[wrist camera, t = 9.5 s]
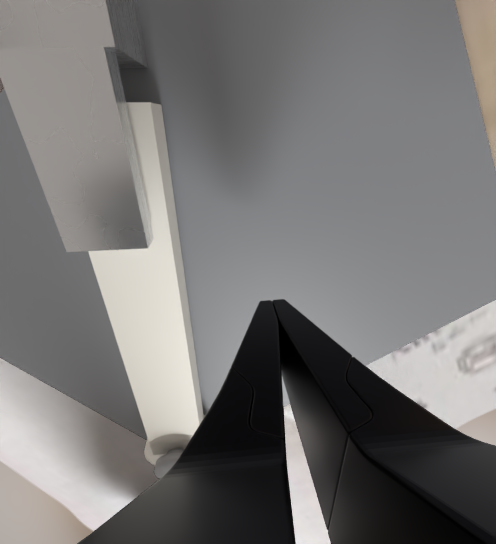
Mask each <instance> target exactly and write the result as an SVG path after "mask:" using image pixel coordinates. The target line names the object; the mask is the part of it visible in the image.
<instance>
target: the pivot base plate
mask: <svg viewBox="0 0 496 544" xmlns="http://www.w3.org/2000/svg"><path fill="white" fill-rule="evenodd" d="M137 2H138V8H139V14H140V20H141V27H142V33H143V39H144V45H145V51H146V58H147V64H148V68H132V69H119V70H120V75H121V80H122V85H123V90H124V94H125V99H126V102H151V103H155V104H160V105H161V106H162V113H163V121H164V128H165V135H166V143H167V150H168V157H169V165H170V172H171V179H172V187H173V194H174V202H175V209H176V216H177V224H178V231H179V238H180V246H181V253H182V260H183V268H184V275H185V282H186V290H187V297H188V305H189V312H190V319H191V327H192V334H193V341H194V349H195V356H196V363H197V371H198V378H199V386H200V393H201V400H202V408H203V415H206V414H207V412H208V410H209V409H210V407H211V405H212V403H213V402H214V400H215V398H216V397H217V395H218V393H219V391H220V389H221V387H222V385H223V383H224V381H225V379H226V376H227V374H228V372H229V370H230V368H231V365H232V363H233V361H234V358H235V356H236V354H237V352H238V349H239V347H240V345H241V342H242V340H243V338H244V336H245V333H246V331H247V329H248V326H249V324H250V322H251V320H252V317H253V315H254V313H255V310H256V308H257V306H258V304H259V302H260V301H265V300H271V301H273V300H277V299H285V300H286V301H287V302H289V303H290V304H291V305H292V306H293V307H295V308H296V309H297V310H298V311H299V312H301V313H302V314H303V315H304V316H305V317H307V318H308V319H309V320H310V321H312V322H313V323H314V324H315V325H316V326H318V327H319V328H320V329H321V330H322V331H324V332H325V333H326V334H327V335H328V336H330V337H331V338H332V339H333V340H334V341H336V342H337V343H338V344H339V345H340V346H342V347H343V348H344V349H345V350H346V351H348V352H349V353H350V354H351V355H352V357H355V358H356V359H357V360H359V361H360V362H361V363H362V364H364V365H365V366H366V365H368V364H370V363H372V362H373V361H375V360H377V359H379V358H381V357H383V356H385V355H387V354H389V353H391V352H393V351H395V350H397V349H399V348H401V347H403V346H405V345H407V344H409V343H411V342H413V341H415V340H417V339H419V338H421V337H423V336H425V335H427V334H429V333H431V332H433V331H435V330H437V329H439V328H441V327H443V326H445V325H447V324H449V323H451V322H453V321H455V320H457V319H459V318H461V317H463V316H464V315H466V314H468V313H470V312H472V311H474V310H476V309H478V308H480V307H482V306H484V305H486V304H488V303H490V302H492V301H494V300H496V171H495V167H494V163H493V159H492V155H491V150H490V146H489V142H488V138H487V134H486V129H485V125H484V121H483V117H482V113H481V109H480V104H479V100H478V96H477V92H476V88H475V84H474V79H473V75H472V71H471V67H470V63H469V58H468V54H467V50H466V46H465V42H464V38H463V33H462V29H461V25H460V21H459V17H458V12H457V8H456V4H455V0H137ZM0 358H2V359H3V360H5V361H7V362H9V363H10V364H12V365H14V366H16V367H18V368H19V369H21V370H23V371H25V372H26V373H28V374H30V375H32V376H34V377H35V378H37V379H39V380H41V381H42V382H44V383H46V384H48V385H50V386H51V387H53V388H55V389H57V390H58V391H60V392H62V393H64V394H66V395H67V396H69V397H71V398H73V399H74V400H76V401H78V402H80V403H82V404H83V405H85V406H87V407H89V408H90V409H92V410H94V411H96V412H98V413H99V414H101V415H103V416H105V417H106V418H108V419H110V420H112V421H114V422H115V423H117V424H119V425H121V426H122V427H124V428H126V429H128V430H129V431H131V432H133V433H135V434H137V435H138V436H140V437H142V438H144V439H145V440H147V434H146V431H145V428H144V425H143V422H142V419H141V416H140V412H139V409H138V406H137V403H136V400H135V397H134V394H133V391H132V387H131V384H130V381H129V378H128V375H127V372H126V369H125V365H124V362H123V359H122V356H121V353H120V350H119V347H118V344H117V340H116V337H115V334H114V331H113V328H112V325H111V322H110V318H109V315H108V312H107V309H106V306H105V303H104V300H103V296H102V293H101V290H100V287H99V284H98V281H97V278H96V275H95V271H94V268H93V265H92V262H91V259H90V256H89V253H88V251H81V252H66V249H65V246H64V244H63V241H62V238H61V236H60V233H59V231H58V228H57V225H56V223H55V220H54V217H53V215H52V212H51V210H50V207H49V204H48V202H47V199H46V196H45V194H44V191H43V189H42V186H41V183H40V181H39V178H38V176H37V173H36V170H35V168H34V165H33V162H32V160H31V157H30V155H29V152H28V149H27V147H26V144H25V141H24V139H23V136H22V134H21V131H20V128H19V126H18V123H17V120H16V118H15V115H14V113H13V110H12V107H11V105H10V102H9V99H8V97H7V94H6V92H5V89H3V90H2V92H1V93H0ZM282 390H283V407H284V406H286V405H288V404H290V401H289V398H288V394H287V391H286V388H285V384H284V381H283V377H282ZM183 451H184V449H179V448H177V449H172V450H169V451H168V452H167V454H166V455H163V456H161V457H160V458H158V459H157V461H156V464H155V469H154V474H155V476H156V477H157V478H159V479H161V478H162V477H163V476H164V475H165V474H166V473H167V472H168V471H169V470H170V469H171V467H172V466H173V465H174V464H175V462H176V461H177V460H178V458H179V457H180V455H181V454H182V452H183Z"/></svg>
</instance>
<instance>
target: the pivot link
mask: <svg viewBox="0 0 496 544" xmlns="http://www.w3.org/2000/svg"><path fill="white" fill-rule="evenodd" d="M126 104H127V109H128V114H129V119H130V124H131V129H132V134H133V139H134V144H135V148H136V153H137V158H138V163H139V168H140V173H141V178H142V183H143V188H144V193H145V198H146V202H147V207H148V212H149V217H150V222H151V227H152V232H153V237H154V239H153V241H152V243H151V244H150V246H149V248H146V249H124V250H103V251H88V253H89V256H90V259H91V262H92V265H93V268H94V271H95V275H96V278H97V281H98V284H99V287H100V290H101V293H102V296H103V300H104V303H105V306H106V309H107V312H108V315H109V318H110V322H111V325H112V328H113V331H114V334H115V337H116V340H117V344H118V347H119V350H120V353H121V356H122V359H123V362H124V365H125V369H126V372H127V375H128V378H129V381H130V384H131V387H132V391H133V394H134V397H135V400H136V403H137V406H138V409H139V412H140V416H141V419H142V422H143V425H144V428H145V431H146V434H147V441H146V445H145V449H144V455H145V458H146V459H147V460H148V461H149V462H150V463H151V464H153V465H154V466H155V464H156V461H157V459H158V458H160V457H161V456H163V455H166V454H167V452H168V451H169V450H172V449H177V448H179V449H185V448H186V446H187V444H188V443H189V441H190V439H191V438H192V436H193V435H194V433H195V431H196V430H197V428H198V426H199V425H200V423H201V422H202V420H203V418H204V417H205V415H203V408H202V400H201V393H200V386H199V378H198V371H197V363H196V356H195V349H194V341H193V334H192V327H191V319H190V312H189V305H188V297H187V290H186V282H185V275H184V268H183V260H182V253H181V246H180V238H179V231H178V224H177V216H176V209H175V202H174V194H173V187H172V179H171V172H170V165H169V157H168V150H167V143H166V135H165V128H164V121H163V113H162V106H161V105H160V104H155V103H151V102H126Z"/></svg>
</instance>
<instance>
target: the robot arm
mask: <svg viewBox="0 0 496 544" xmlns="http://www.w3.org/2000/svg"><path fill="white" fill-rule="evenodd" d="M282 377H283V381H284V384H285V388H286V391H287V394H288V398H289V401H290V405H291V408H292V411H293V415H294V418H295V422H296V425H297V429H298V432H299V435H300V439H301V442H302V446H303V449H304V452H305V456H306V459H307V463H308V466H309V469H310V473H311V476H312V480H313V483H314V487H315V490H316V493H317V497H318V500H319V504H320V507H321V510H322V514H323V517H324V521H325V524H326V527H327V530H328V535H329V538H330V541H331V544H496V446H495V445H491V444H488V443H484V442H481V441H479V440H476V439H473V438H471V437H469V436H467V435H465V434H463V433H461V432H460V431H458V430H456V429H454V428H453V427H451V426H450V425H448V424H446V423H445V422H443V421H442V420H441V419H439V418H438V417H436V416H435V415H433V414H432V413H430V412H429V411H427V410H426V409H424V408H423V407H422V406H420V405H419V404H417V403H416V402H414V401H413V400H411V399H410V398H408V397H407V396H406V395H404V394H403V393H401V392H400V391H398V390H397V389H395V388H394V387H393V386H391V385H390V384H388V383H387V382H386V381H384V380H383V379H382V378H380V377H379V376H377V375H376V374H375V373H374V372H372V371H371V370H370V369H369V368H367V367H366V366H365V365H364V364H362V363H361V362H360V361H359V360H357V359H356V358H355V357H352V355H351V354H350V353H349V352H348V351H346V350H345V349H344V348H343V347H342V346H340V345H339V344H338V343H337V342H336V341H334V340H333V339H332V338H331V337H330V336H328V335H327V334H326V333H325V332H324V331H322V330H321V329H320V328H319V327H318V326H316V325H315V324H314V323H313V322H312V321H310V320H309V319H308V318H307V317H305V316H304V315H303V314H302V313H301V312H299V311H298V310H297V309H296V308H295V307H293V306H292V305H291V304H290V303H289V302H287V301H286V300H285V299H277V300H273V301H271V300H265V301H260V302H259V304H258V306H257V308H256V310H255V313H254V315H253V317H252V320H251V322H250V324H249V326H248V329H247V331H246V333H245V336H244V338H243V340H242V342H241V345H240V347H239V349H238V352H237V354H236V356H235V358H234V361H233V363H232V365H231V368H230V370H229V372H228V374H227V376H226V379H225V381H224V383H223V385H222V387H221V389H220V391H219V393H218V395H217V397H216V398H215V400H214V402H213V403H212V405H211V407H210V409H209V410H208V412H207V414H206V415H205V417H204V418H203V420H202V422H201V423H200V425H199V426H198V428H197V430H196V431H195V433H194V435H193V436H192V438H191V439H190V441H189V443H188V444H187V446H186V448H185V449H184V451H183V452H182V454H181V455H180V457H179V458H178V460H177V461H176V462H175V464H174V465H173V466H172V467H171V469H170V470H169V471H168V472H167V473H166V474H165V475H164V476H163V477H162V478H161V479H159V480H158V481H157V482H156V483H154V484H153V485H152V486H151V487H149V488H148V489H147V490H145V491H144V492H143V493H142V494H140V495H139V496H138V497H137V498H135V499H134V500H133V501H132V502H130V503H129V504H128V505H127V506H125V507H124V508H123V509H122V510H120V511H119V512H118V513H116V514H115V515H114V516H113V517H111V518H110V519H109V520H108V521H106V522H105V523H104V524H103V525H101V526H100V527H99V528H98V529H96V530H95V531H94V532H93V533H92V534H90V535H89V536H87V537H86V538H84V539H83V540H81V541H80V542H79V543H77V544H296V543H295V534H294V525H293V516H292V508H291V499H290V490H289V481H288V472H287V460H286V444H285V426H284V408H283V390H282Z"/></svg>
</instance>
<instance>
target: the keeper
mask: <svg viewBox="0 0 496 544" xmlns="http://www.w3.org/2000/svg"><path fill="white" fill-rule="evenodd" d="M132 68H148V64H147V58H146V51H145V45H144V39H143V33H142V27H141V20H140V14H139V8H138V2H137V0H0V78H1V81H2V84H3V86H4V89H5V92H6V94H7V97H8V99H9V102H10V105H11V107H12V110H13V113H14V115H15V118H16V120H17V123H18V126H19V128H20V131H21V134H22V136H23V139H24V141H25V144H26V147H27V149H28V152H29V155H30V157H31V160H32V162H33V165H34V168H35V170H36V173H37V176H38V178H39V181H40V183H41V186H42V189H43V191H44V194H45V196H46V199H47V202H48V204H49V207H50V210H51V212H52V215H53V217H54V220H55V223H56V225H57V228H58V231H59V233H60V236H61V238H62V241H63V244H64V246H65V249H66V252H81V251H103V250H124V249H146V248H149V246H150V244H151V243H152V241H153V239H154V237H153V232H152V227H151V222H150V217H149V212H148V207H147V202H146V198H145V193H144V188H143V183H142V178H141V173H140V168H139V163H138V158H137V153H136V148H135V144H134V139H133V134H132V129H131V124H130V119H129V114H128V109H127V104H126V99H125V94H124V90H123V85H122V80H121V75H120V70H119V69H132Z"/></svg>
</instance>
